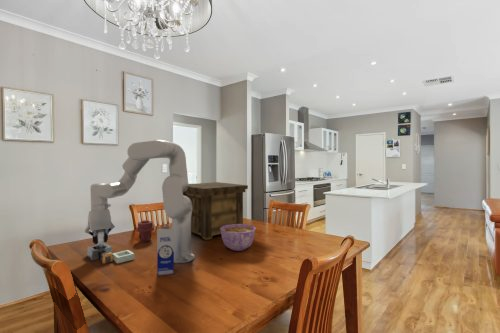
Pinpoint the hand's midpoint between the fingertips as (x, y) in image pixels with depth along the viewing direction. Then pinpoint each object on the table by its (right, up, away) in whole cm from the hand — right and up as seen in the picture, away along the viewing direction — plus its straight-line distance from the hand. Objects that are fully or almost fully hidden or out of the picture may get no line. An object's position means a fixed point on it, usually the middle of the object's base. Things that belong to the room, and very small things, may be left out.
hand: (100, 242), depth 138 cm
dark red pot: (+13, -7, +27) cm, 30 cm away
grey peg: (0, -5, 0) cm, 5 cm away
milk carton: (+40, -8, -20) cm, 45 cm away
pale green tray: (+14, -7, -4) cm, 16 cm away
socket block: (-1, -7, 0) cm, 7 cm away
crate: (+51, -6, +46) cm, 69 cm away
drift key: (+5, -7, -6) cm, 11 cm away
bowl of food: (+71, -7, +12) cm, 72 cm away
